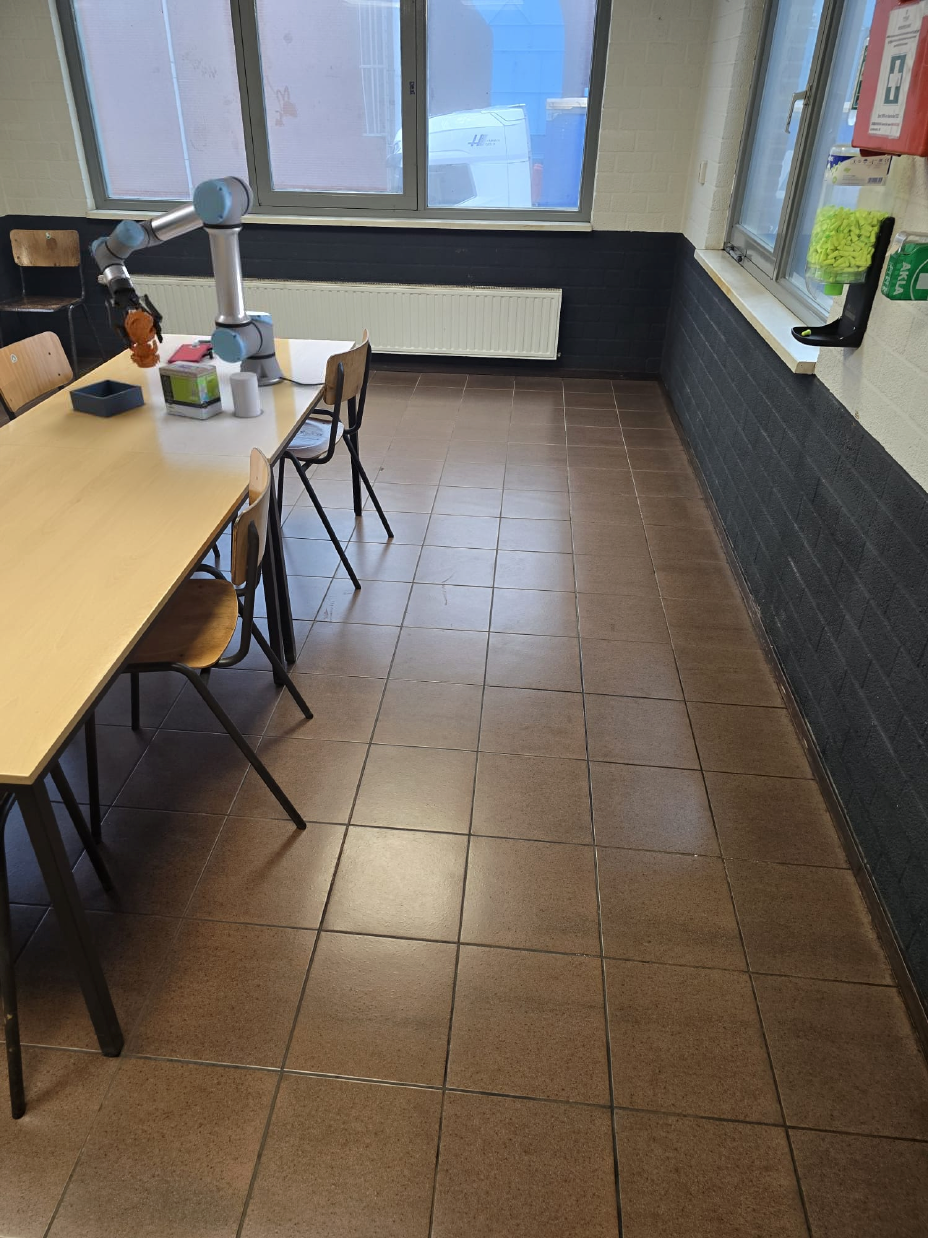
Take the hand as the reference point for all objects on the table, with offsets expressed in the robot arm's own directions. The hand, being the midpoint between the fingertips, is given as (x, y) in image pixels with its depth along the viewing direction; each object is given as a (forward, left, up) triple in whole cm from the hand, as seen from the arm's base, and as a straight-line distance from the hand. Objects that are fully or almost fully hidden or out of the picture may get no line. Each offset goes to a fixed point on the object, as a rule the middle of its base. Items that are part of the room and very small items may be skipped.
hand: (146, 343), depth 273 cm
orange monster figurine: (+3, -1, -8) cm, 9 cm away
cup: (-39, -1, -17) cm, 43 cm away
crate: (+3, +17, -17) cm, 24 cm away
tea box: (-24, +7, -17) cm, 31 cm away
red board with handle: (+26, -46, -17) cm, 56 cm away
